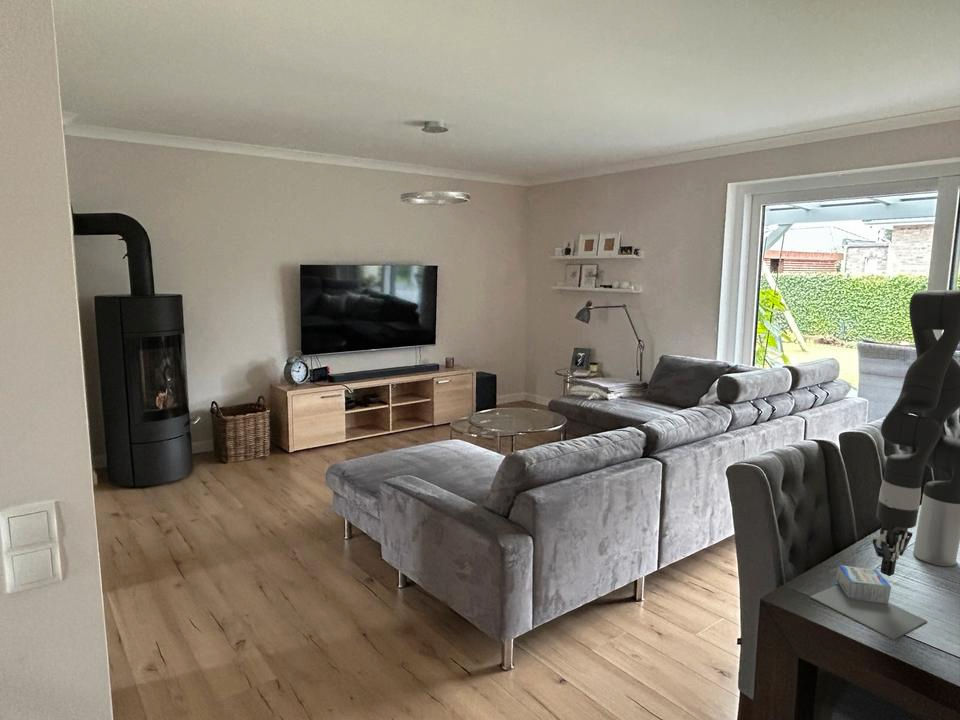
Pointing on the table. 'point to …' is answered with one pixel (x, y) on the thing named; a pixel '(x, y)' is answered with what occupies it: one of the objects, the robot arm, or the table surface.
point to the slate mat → (870, 613)
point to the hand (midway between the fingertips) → (886, 573)
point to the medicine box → (863, 584)
